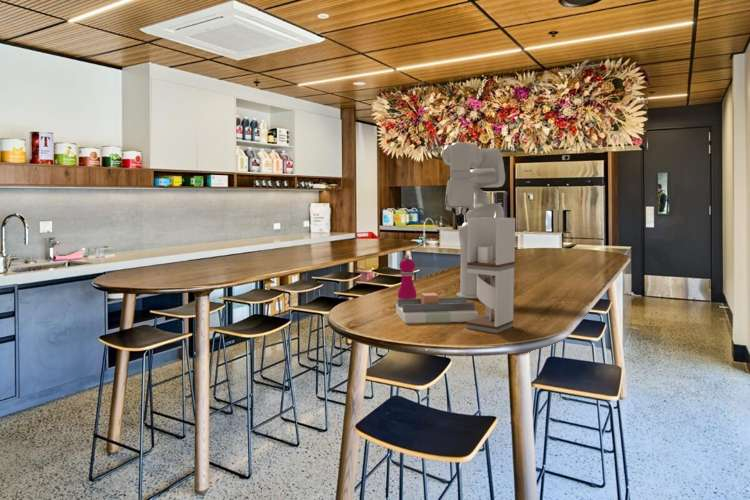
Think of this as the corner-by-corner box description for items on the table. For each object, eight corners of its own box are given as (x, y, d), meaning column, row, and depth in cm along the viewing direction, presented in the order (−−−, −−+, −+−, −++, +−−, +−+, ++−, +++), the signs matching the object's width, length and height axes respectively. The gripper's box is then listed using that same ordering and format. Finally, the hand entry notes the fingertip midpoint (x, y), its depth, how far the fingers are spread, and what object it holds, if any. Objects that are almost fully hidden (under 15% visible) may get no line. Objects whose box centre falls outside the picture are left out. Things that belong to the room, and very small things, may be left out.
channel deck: (462, 310, 197) (462, 302, 197) (477, 321, 179) (478, 312, 179) (395, 312, 194) (396, 304, 194) (404, 323, 176) (405, 314, 176)
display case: (483, 321, 178) (485, 217, 175) (513, 326, 171) (515, 218, 168) (466, 328, 169) (467, 218, 166) (496, 333, 163) (499, 219, 159)
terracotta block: (434, 306, 188) (434, 292, 188) (438, 309, 183) (438, 295, 183) (420, 307, 188) (420, 293, 187) (424, 310, 183) (424, 295, 182)
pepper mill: (409, 308, 199) (409, 256, 198) (393, 306, 204) (393, 254, 202) (420, 305, 205) (420, 254, 203) (404, 303, 210) (404, 253, 208)
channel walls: (465, 303, 193) (465, 297, 193) (474, 310, 182) (475, 303, 182) (397, 305, 190) (397, 298, 190) (403, 312, 179) (403, 305, 179)
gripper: (476, 176, 202) (475, 225, 204) (438, 176, 200) (437, 225, 202) (482, 176, 195) (482, 226, 196) (443, 176, 193) (442, 226, 194)
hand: (459, 225), depth 199 cm, fingers closed
